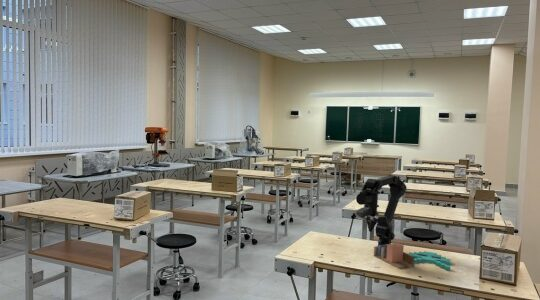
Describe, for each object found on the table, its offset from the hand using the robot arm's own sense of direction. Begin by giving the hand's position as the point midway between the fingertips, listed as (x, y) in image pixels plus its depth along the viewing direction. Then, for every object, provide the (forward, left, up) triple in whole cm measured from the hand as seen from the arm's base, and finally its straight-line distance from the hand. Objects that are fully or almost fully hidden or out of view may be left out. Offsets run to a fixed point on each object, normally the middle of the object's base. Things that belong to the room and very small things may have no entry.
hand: (370, 231), depth 208 cm
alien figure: (-23, +19, -13) cm, 33 cm away
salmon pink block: (-4, +15, -11) cm, 19 cm away
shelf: (-5, +13, -12) cm, 19 cm away
